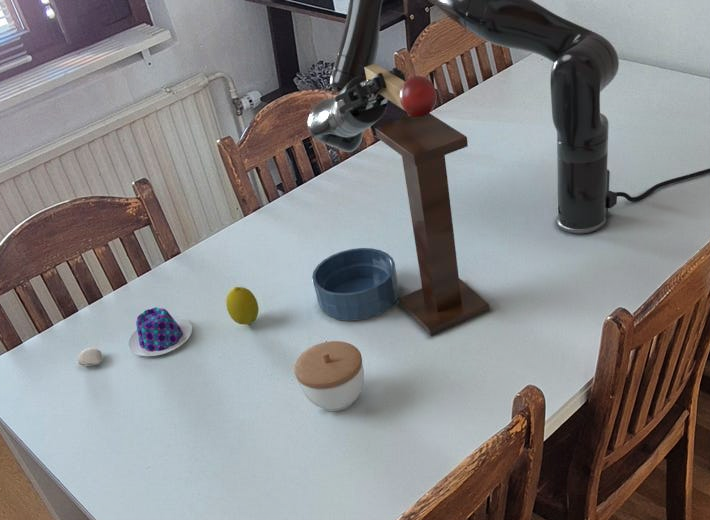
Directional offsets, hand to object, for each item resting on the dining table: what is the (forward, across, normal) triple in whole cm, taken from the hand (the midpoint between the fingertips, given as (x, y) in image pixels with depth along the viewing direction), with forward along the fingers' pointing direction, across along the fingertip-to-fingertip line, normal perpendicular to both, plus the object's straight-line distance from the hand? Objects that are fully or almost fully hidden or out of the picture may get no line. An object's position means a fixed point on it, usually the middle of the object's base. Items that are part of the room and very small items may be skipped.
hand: (389, 77), depth 124 cm
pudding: (-34, -46, +24) cm, 62 cm away
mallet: (+1, 0, +4) cm, 4 cm away
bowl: (-23, -11, +30) cm, 40 cm away
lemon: (-28, -31, +28) cm, 50 cm away
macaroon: (-34, -59, +24) cm, 72 cm away
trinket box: (-3, -26, +42) cm, 50 cm away
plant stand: (-12, 0, +37) cm, 39 cm away
